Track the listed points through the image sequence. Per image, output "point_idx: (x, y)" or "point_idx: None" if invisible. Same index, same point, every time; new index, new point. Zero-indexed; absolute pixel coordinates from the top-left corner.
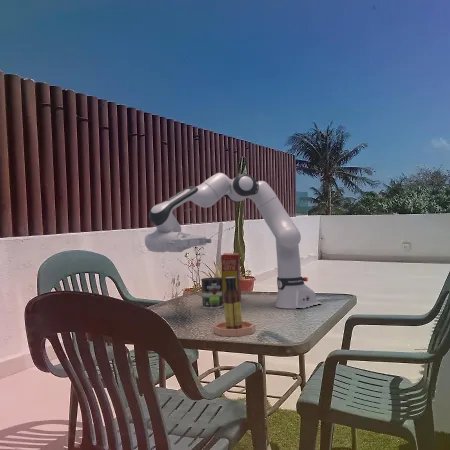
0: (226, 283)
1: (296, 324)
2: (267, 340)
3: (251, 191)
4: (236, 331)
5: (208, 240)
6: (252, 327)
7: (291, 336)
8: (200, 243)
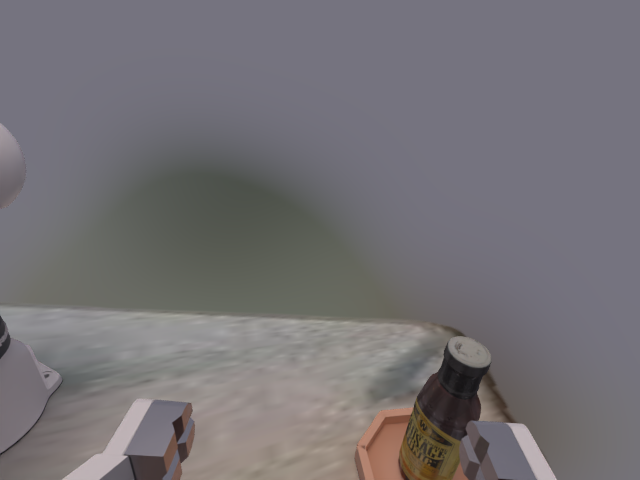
0: (482, 376)
1: (283, 355)
2: None
3: None
4: None
5: (185, 429)
6: (410, 409)
7: (393, 344)
8: (463, 447)
